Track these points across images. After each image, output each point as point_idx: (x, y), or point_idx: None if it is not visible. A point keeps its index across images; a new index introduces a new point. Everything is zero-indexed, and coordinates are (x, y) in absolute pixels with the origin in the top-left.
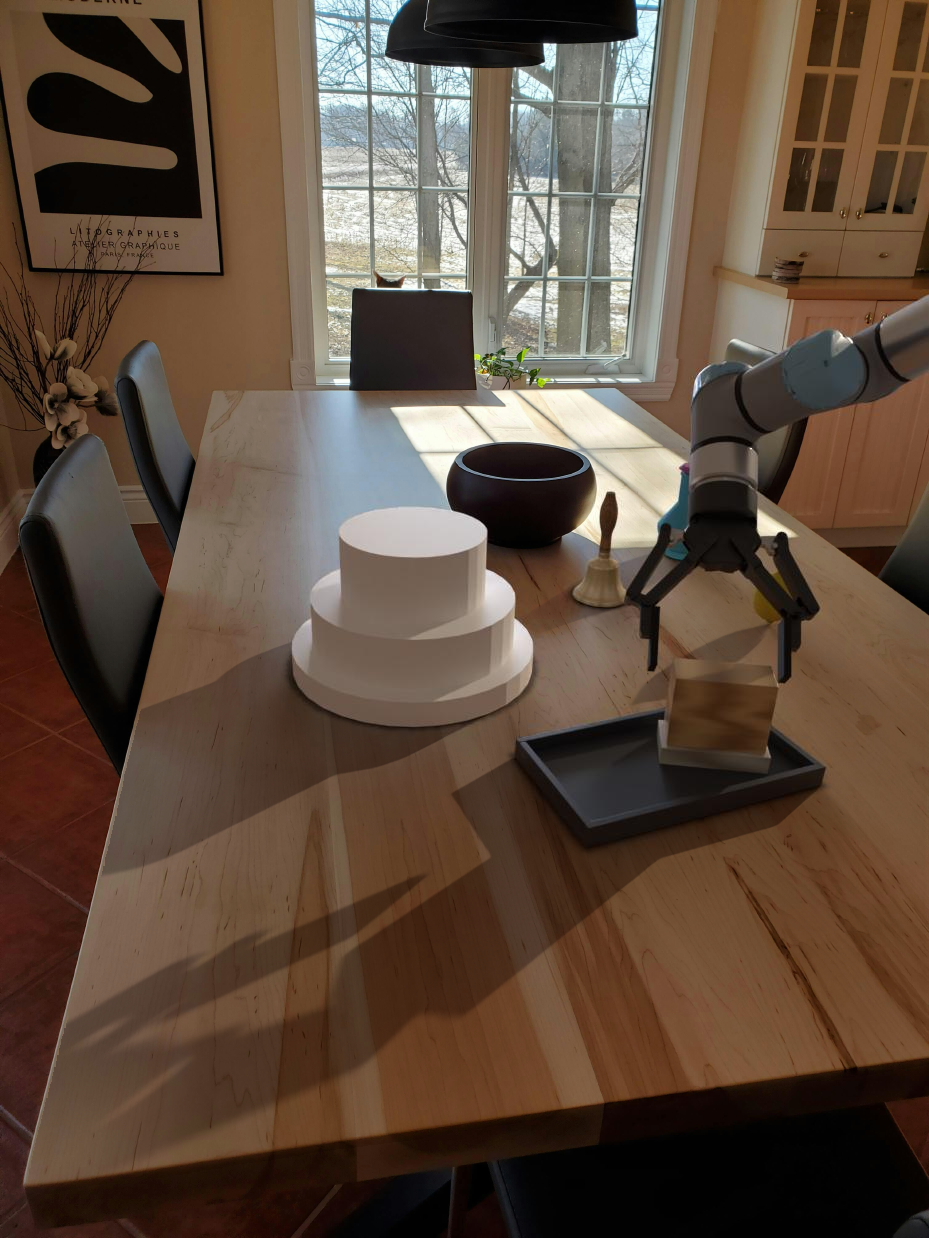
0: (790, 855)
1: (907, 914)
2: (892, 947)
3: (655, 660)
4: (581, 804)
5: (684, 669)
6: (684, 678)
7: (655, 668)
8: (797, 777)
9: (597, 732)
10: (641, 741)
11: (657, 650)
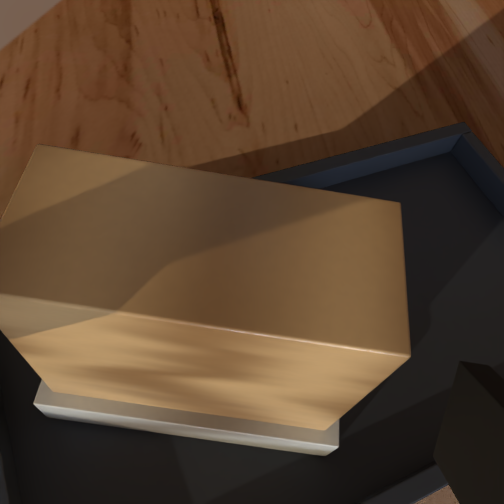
0: (141, 124)
1: (33, 36)
2: (87, 7)
3: (475, 370)
4: (473, 212)
5: (367, 258)
6: (372, 199)
7: (445, 413)
8: None
9: None
10: (366, 420)
11: (492, 391)
